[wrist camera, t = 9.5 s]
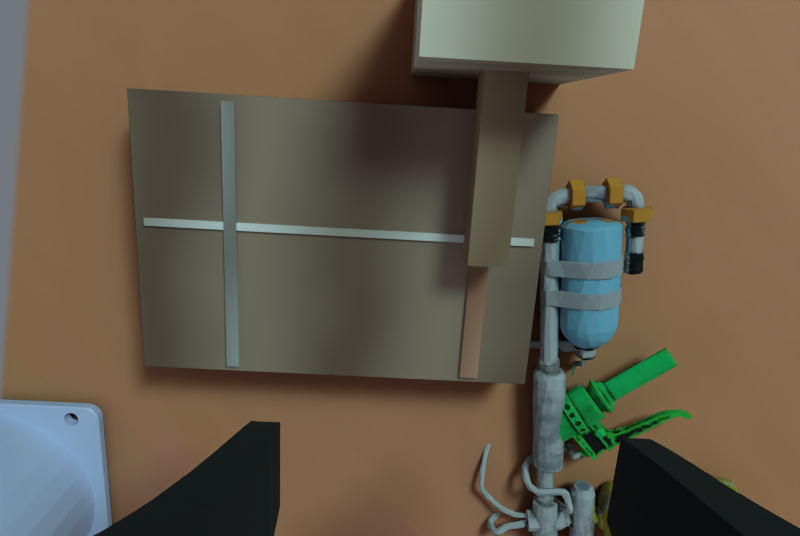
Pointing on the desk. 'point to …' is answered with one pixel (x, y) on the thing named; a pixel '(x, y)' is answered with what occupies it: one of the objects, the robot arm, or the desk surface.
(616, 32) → the joiner mallet
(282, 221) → the brown flat block
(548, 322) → the flamethrower
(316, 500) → the desk surface
